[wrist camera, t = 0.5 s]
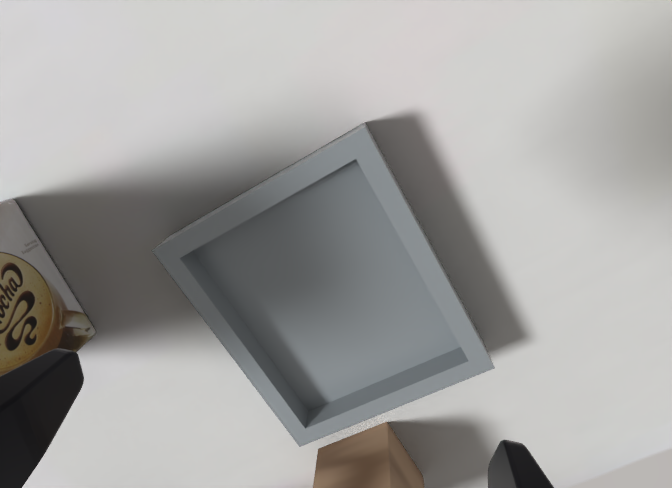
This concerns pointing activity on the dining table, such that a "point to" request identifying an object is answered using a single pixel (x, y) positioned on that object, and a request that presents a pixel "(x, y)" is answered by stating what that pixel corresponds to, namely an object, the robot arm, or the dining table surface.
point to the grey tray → (327, 291)
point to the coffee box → (33, 297)
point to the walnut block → (367, 462)
